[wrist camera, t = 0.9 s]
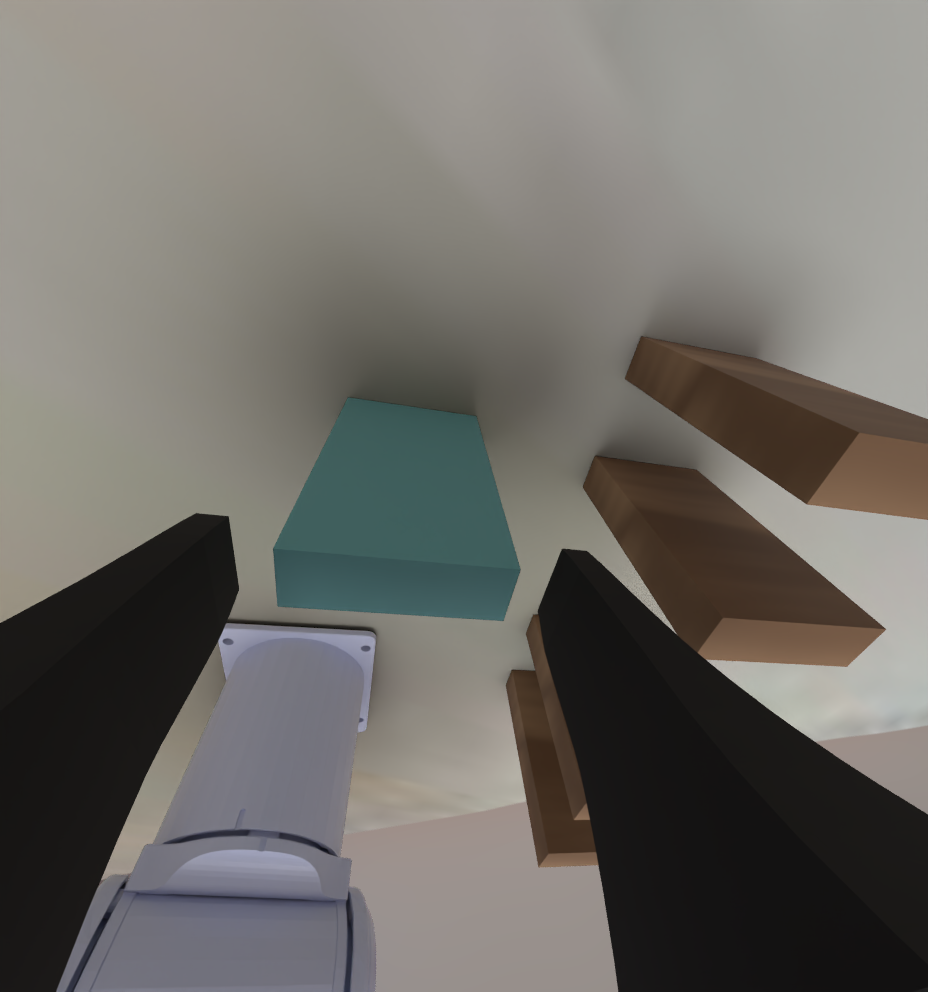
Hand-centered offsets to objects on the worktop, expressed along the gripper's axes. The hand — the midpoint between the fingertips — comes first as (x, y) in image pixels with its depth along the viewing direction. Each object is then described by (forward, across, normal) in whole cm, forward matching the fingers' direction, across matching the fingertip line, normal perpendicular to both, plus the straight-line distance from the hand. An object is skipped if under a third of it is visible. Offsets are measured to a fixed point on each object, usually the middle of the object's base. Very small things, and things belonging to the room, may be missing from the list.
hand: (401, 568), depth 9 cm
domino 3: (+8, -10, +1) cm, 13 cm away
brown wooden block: (+8, -10, +16) cm, 21 cm away
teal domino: (+8, 0, 0) cm, 8 cm away
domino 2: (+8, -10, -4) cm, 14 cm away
